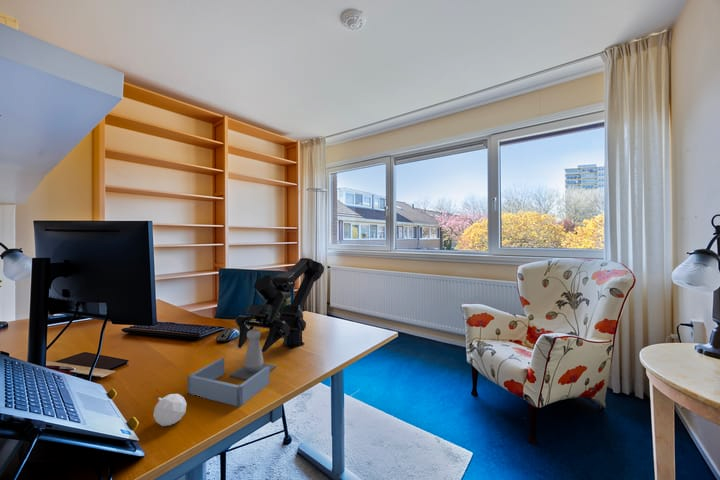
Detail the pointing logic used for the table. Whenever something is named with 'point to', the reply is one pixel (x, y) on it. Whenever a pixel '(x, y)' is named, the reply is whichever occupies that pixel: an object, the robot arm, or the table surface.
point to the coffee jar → (288, 298)
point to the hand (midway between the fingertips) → (250, 349)
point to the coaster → (245, 375)
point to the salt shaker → (253, 352)
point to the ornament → (169, 409)
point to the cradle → (225, 384)
